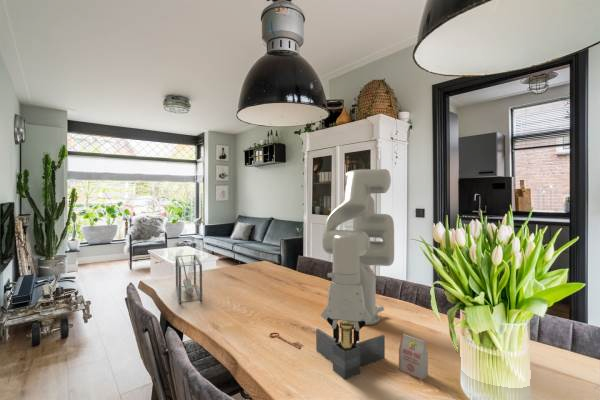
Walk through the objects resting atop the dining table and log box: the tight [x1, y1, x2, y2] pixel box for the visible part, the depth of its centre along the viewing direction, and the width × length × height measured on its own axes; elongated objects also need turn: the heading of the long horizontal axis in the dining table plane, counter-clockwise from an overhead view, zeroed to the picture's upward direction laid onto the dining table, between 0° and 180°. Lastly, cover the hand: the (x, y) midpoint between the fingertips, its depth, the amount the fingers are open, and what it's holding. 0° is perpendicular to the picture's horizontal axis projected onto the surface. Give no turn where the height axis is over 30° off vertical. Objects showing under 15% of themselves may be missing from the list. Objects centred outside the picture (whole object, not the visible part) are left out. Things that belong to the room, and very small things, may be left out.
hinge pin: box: [339, 320, 355, 351], centre depth 89 cm, size 4×4×14 cm
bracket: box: [315, 328, 386, 380], centre depth 98 cm, size 17×17×8 cm
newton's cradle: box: [175, 253, 203, 304], centre depth 161 cm, size 30×10×18 cm, turn 24°
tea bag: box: [398, 333, 429, 381], centre depth 89 cm, size 4×7×10 cm, turn 42°
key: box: [269, 332, 304, 350], centre depth 109 cm, size 6×1×15 cm
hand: (346, 341), depth 89 cm, fingers open, 4 cm apart
